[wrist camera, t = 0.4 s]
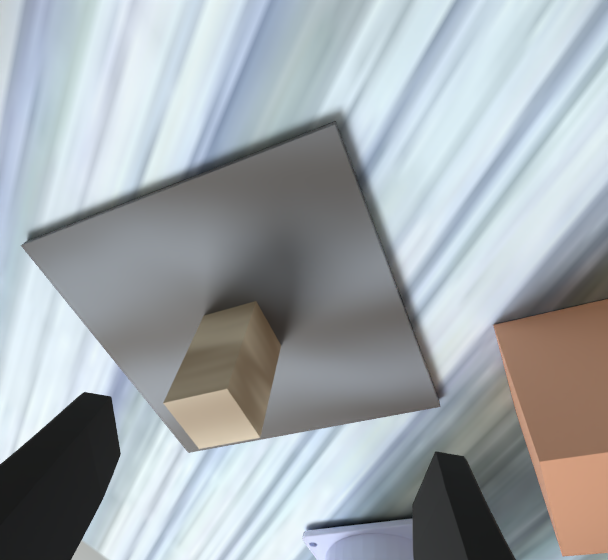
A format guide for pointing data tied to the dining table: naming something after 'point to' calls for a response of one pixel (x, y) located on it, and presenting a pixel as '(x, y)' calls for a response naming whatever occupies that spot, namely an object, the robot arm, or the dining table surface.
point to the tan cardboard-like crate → (564, 415)
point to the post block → (247, 298)
